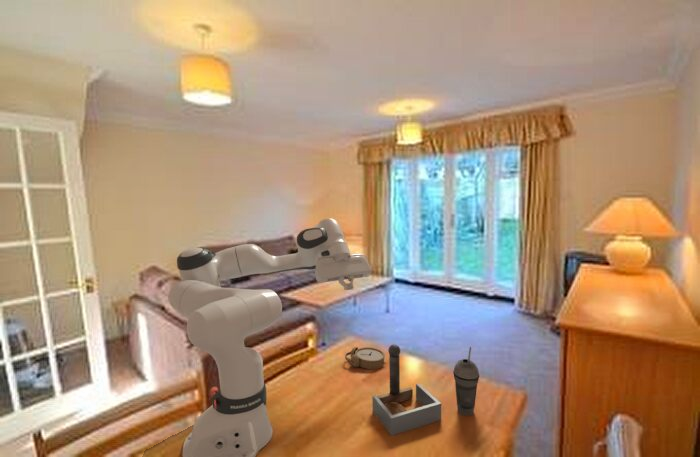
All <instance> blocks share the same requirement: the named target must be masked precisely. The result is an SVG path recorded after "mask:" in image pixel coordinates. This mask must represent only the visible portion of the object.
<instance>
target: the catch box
mask: <svg viewBox="0 0 700 457" xmlns="http://www.w3.org/2000/svg"><path fill="white" fill-rule="evenodd" d="M377 396H378V395H376V394H372V396H371V399H372V413H373V414H374V415H375V416H376V418H377V419H378V421H379V422H380V423H381V424H382V425H383V427H384V428H385V429H386V430H387V432H388V433H389V435H390V436H395V435H399V434H402V433H404V432H409V431H410V430H414V429H418V428H421V427H424V426H427V425H429V424H433V423H435V422H439V421H442V402H440V401H439V400H438V399H437V398H436V397H435V396H434V395H433V394H431V393H430V392H429V391H428V390H427V389H426V388H425V387H424V386H423V385H422V384H420V383H415V399H416V401H417V402H419V404H421V406H420V407H416V408H413V409H412V408H411V409H410V410H409V409H408V410H407V411H405V412H402V413H398V414H395V415H392V414H391V412H390V411H389V410H388V409H387V408H386V407H385V405H384V404H383V403H382V402H381V401H380V399H379V398H378V397H377Z"/></svg>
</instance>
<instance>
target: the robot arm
mask: <svg viewBox="0 0 700 457" xmlns="http://www.w3.org/2000/svg"><path fill="white" fill-rule="evenodd" d="M345 239H346V238H345V234H344V232H343V230H342V227H341V225H340V223H339V222H338V221H337V220H336V219H334V218H329V217H328V218H327V217H326V218H323V219H321V220H320V221H319V222H318V223H317V224H315V225H314V226H313V227H310V228H306V229H302V230H300V232H299V233H298V234H297V236H296V246H297V252H296V253H290V254H289V253H288V254H284V255H276V256H275V255H272V254H270V253H268V252H266V251H265V250H264V249H263V248H261V247H260V246H259V245H258V244H254V243H243V244H240V245H236V246H232V247H228V248H225V249H222V250H219V251H217V252H215V251H211V250H209V249H207V248H205V247H201V246H200V247H191V248H188V249H186V250H184V251H182V252H181V253H179V255H178V256H177V258H176V267H177V269H178V272H179V275H180V279H181V280H180V281H177V282H176V283H174V284H173V285H172V286H171V288H170V289H169V291H168V294H167V296H168V297H167V299H168V303H169V305H170V306H171V308H172V309H174V310H175V311H176V312H177V313H178V314H179V315H180V316H182V317H184V318H186V319H187V322H186V335H187V337H188V340H189V342H190V343H191V344H192V345H193V346H194V347H196V348H197V349H199V350H200V351H204V352H206V353H208V354H209V355H210V356H211V357H212V358H213V359H214V362H215V363H216V366H217V371H218V378H219V388H218V386H213V387H211V388H210V397H212V401H211V402H212V405H210V407H208V408H207V409H205V411H204V412H202V413H201V414H200V415H198V417H197V418H196V420H195V421H194V423H193V428H192V431H191V432H190V433H189V434H188V435H187V436H186V438H185V440H184V442H183V447H182V455H181V456H182V457H256V456H257V454H258V453H259V452H260V450H261V449H263V448H264V447H265V446H266V445H267V444H268V443H269V442H270V441H271V439H272V437H273V432H274V430H273V427H272V424H271V422H270V418H269V415H268V410H267V400H268V398H267V397H268V396H267V395H268V394H267V386H266V381H265V380H264V378H265V377H264V363H263V362H264V361H263V357H262V355H261V354H260V352H259V351H257V350H256V349H254V348H251V347H246V346H245V338H247V337H249V336H252V335H254V334H256V333H259V332H261V331H265V330H266V329H267V328H269V327H270V326H272V325H274V324H275V323H277V322H278V321H279V320H280V318H281V317H282V311H283V304H282V301H281V299H280V296H279V295H278V294H277V293H276V291H274V290H272V289H269V288H267V289H265V288H264V289H263V288H261V289H250V288H238V287H222V286H221V282H220V281H223V280H225V281H226V280H230V279H236V278H242V277H246V276H250V275H257V274H259V275H260V274H266V275H267V274H269V275H270V274H276V273H277V274H278V273H283V272H288V271H289V272H290V271H294V270H295V271H296V270H308V271H309V270H311V271H312V270H314V275H315V280H316V281H317V283H320V284H323V283H329V282H331V283H332V282H338V284H339V285H341V286H342V287H343V290H344V291H349V290H350V291H351V290H354V288H355V287H354V284H353V283H354V279H360V278H361V279H362V278H368V277H369V276H370V275H371V273H372V267H371V265H370V263H369V261H368V258H367V257H366V255H364V254H362V253H355V254H354V253H353V254H351V251H350V249H349V245H348V243H347V242H346V240H345ZM346 280H347V281H348V282H349V283H347V282H345V281H346Z"/></svg>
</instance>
